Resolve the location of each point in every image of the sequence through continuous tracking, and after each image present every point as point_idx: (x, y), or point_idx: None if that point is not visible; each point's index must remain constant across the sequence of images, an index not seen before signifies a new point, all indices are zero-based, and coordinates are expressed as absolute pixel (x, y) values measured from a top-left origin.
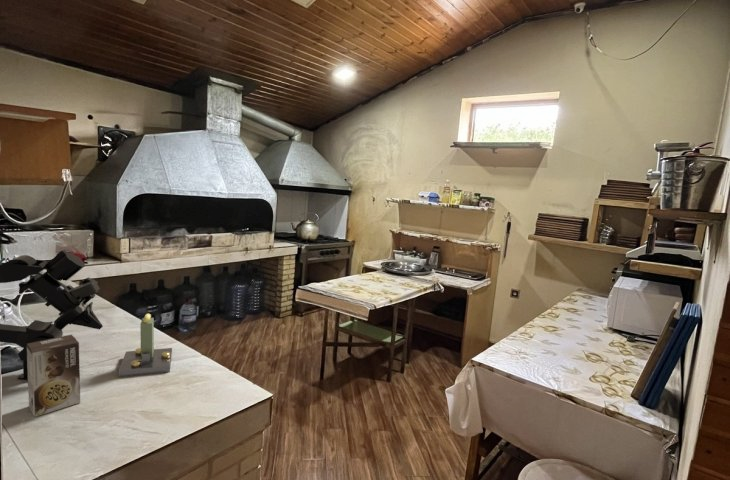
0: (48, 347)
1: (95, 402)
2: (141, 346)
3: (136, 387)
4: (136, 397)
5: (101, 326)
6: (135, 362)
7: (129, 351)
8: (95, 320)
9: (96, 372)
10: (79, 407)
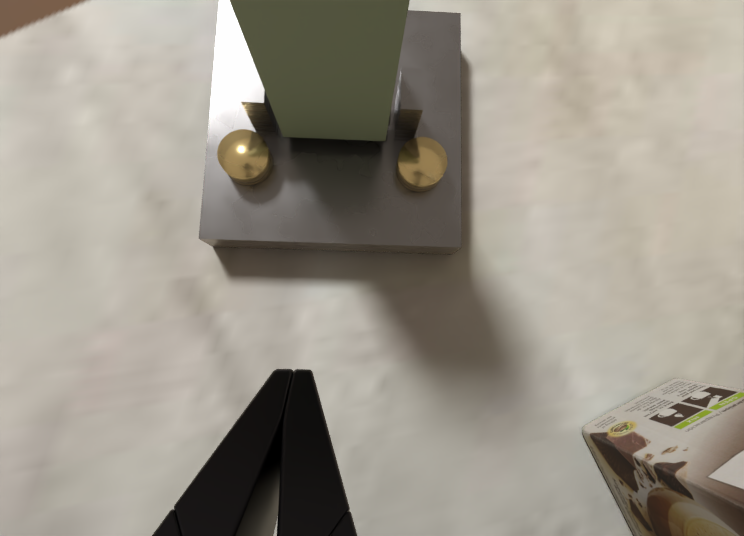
0: None
1: (679, 317)
2: (393, 93)
3: (576, 168)
4: (667, 162)
5: (311, 378)
6: (433, 162)
7: (202, 220)
8: (335, 477)
9: (367, 366)
10: (710, 373)
